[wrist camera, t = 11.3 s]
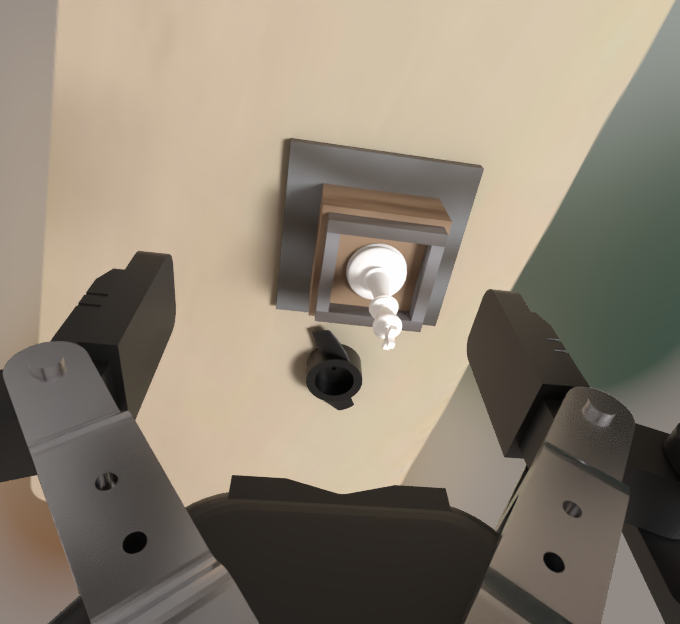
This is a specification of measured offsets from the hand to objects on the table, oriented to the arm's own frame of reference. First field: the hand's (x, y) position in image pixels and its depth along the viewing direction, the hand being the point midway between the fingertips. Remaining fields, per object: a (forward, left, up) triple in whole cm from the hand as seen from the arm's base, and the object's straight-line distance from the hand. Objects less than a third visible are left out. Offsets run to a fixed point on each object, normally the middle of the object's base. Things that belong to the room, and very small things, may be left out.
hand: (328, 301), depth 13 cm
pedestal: (+12, +6, -30) cm, 33 cm away
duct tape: (+27, +4, -31) cm, 41 cm away
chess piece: (+11, +6, -24) cm, 27 cm away
